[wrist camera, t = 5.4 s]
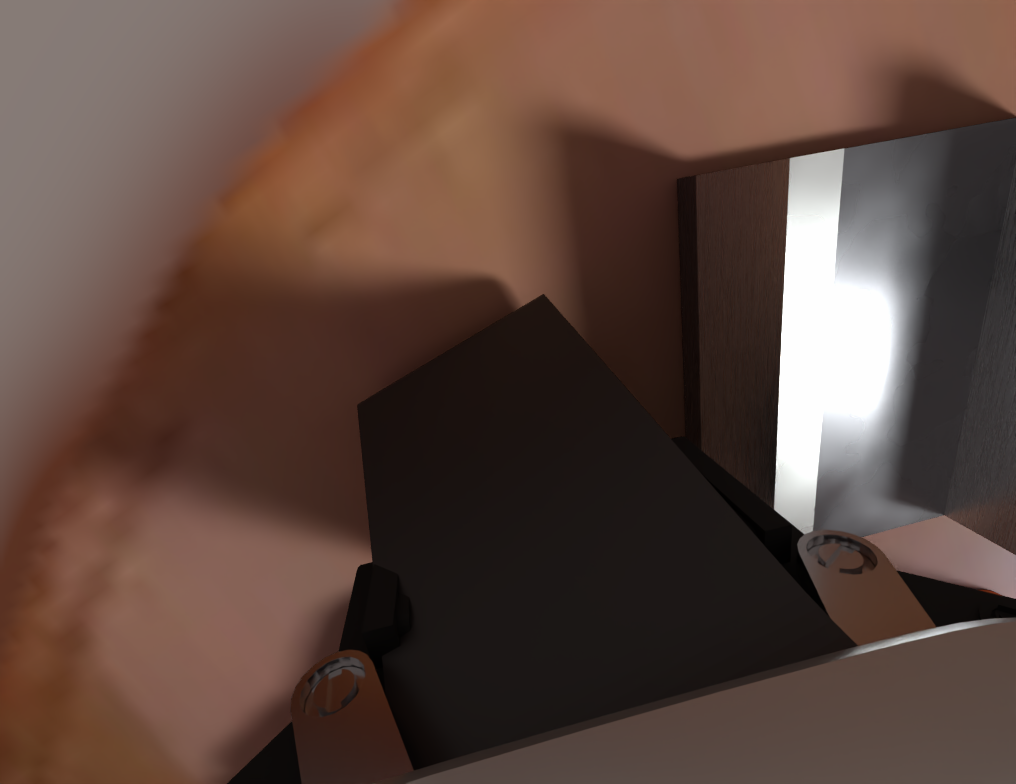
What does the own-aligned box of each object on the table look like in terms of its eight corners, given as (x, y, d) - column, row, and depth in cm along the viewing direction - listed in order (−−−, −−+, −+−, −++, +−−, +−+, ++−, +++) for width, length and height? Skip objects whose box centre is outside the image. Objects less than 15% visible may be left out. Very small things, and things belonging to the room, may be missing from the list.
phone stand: (358, 398, 13) (-59, 1328, 2) (542, 291, 13) (1218, 659, 2) (510, 603, 16) (675, 1410, 5) (659, 519, 16) (1171, 1171, 5)
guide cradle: (1020, 117, 15) (1260, 73, 10) (944, 494, 20) (1085, 567, 15) (677, 178, 13) (790, 158, 9) (690, 561, 18) (767, 660, 14)
